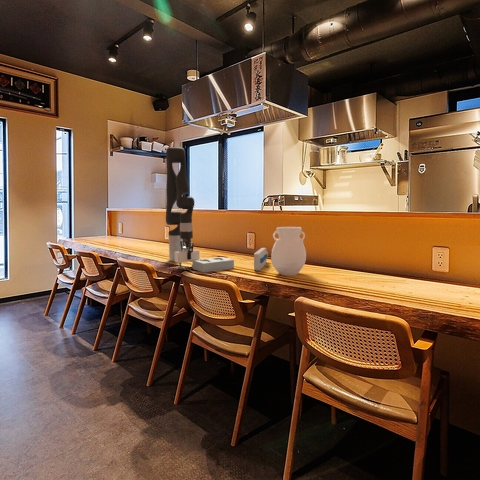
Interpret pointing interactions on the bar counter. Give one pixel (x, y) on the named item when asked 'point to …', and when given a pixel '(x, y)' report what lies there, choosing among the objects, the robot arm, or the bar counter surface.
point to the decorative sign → (260, 258)
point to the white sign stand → (185, 257)
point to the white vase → (288, 250)
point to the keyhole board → (213, 264)
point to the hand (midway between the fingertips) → (187, 258)
